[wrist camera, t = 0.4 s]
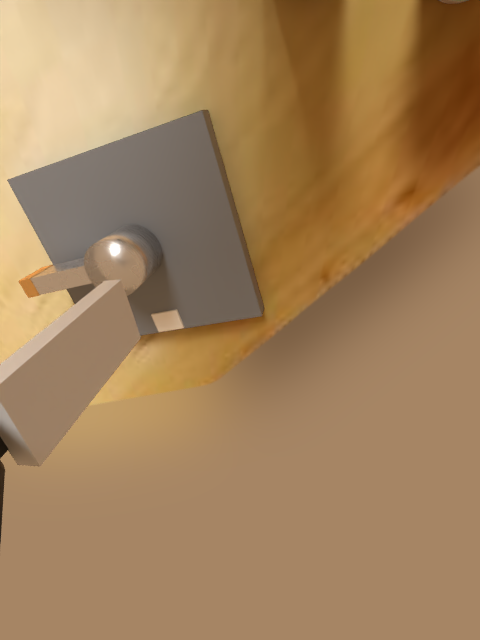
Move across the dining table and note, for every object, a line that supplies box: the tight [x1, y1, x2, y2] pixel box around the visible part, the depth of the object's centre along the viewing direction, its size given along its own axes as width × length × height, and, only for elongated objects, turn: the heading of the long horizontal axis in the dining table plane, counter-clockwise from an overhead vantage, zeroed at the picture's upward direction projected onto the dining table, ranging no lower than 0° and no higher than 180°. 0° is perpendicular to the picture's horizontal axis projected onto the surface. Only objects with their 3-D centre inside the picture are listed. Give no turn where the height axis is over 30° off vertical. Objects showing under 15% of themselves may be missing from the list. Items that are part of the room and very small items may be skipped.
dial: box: [19, 224, 162, 298], centre depth 40 cm, size 15×6×6 cm, turn 106°
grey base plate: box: [7, 110, 264, 335], centre depth 42 cm, size 22×24×2 cm
